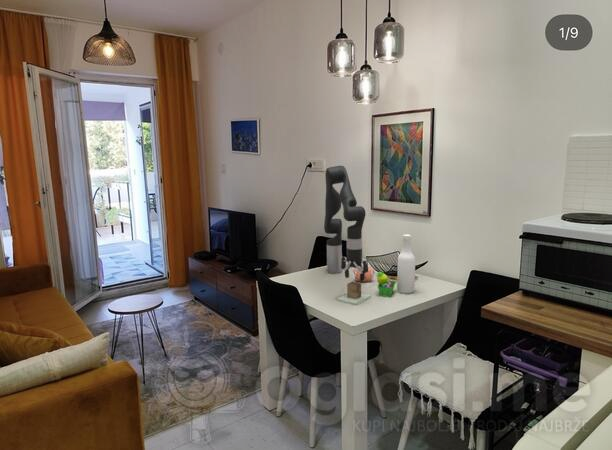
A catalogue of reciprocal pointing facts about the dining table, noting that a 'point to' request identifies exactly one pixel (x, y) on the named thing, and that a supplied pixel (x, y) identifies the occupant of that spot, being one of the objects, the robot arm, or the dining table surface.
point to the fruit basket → (385, 285)
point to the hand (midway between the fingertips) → (354, 279)
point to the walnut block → (354, 290)
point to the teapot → (367, 275)
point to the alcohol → (406, 267)
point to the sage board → (354, 301)
